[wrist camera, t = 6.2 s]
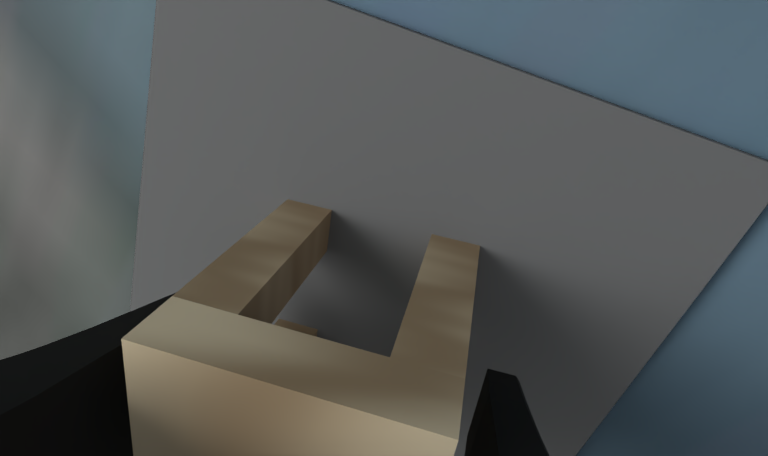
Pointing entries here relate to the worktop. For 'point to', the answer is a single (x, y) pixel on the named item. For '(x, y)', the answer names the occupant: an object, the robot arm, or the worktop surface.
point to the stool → (297, 358)
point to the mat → (435, 193)
